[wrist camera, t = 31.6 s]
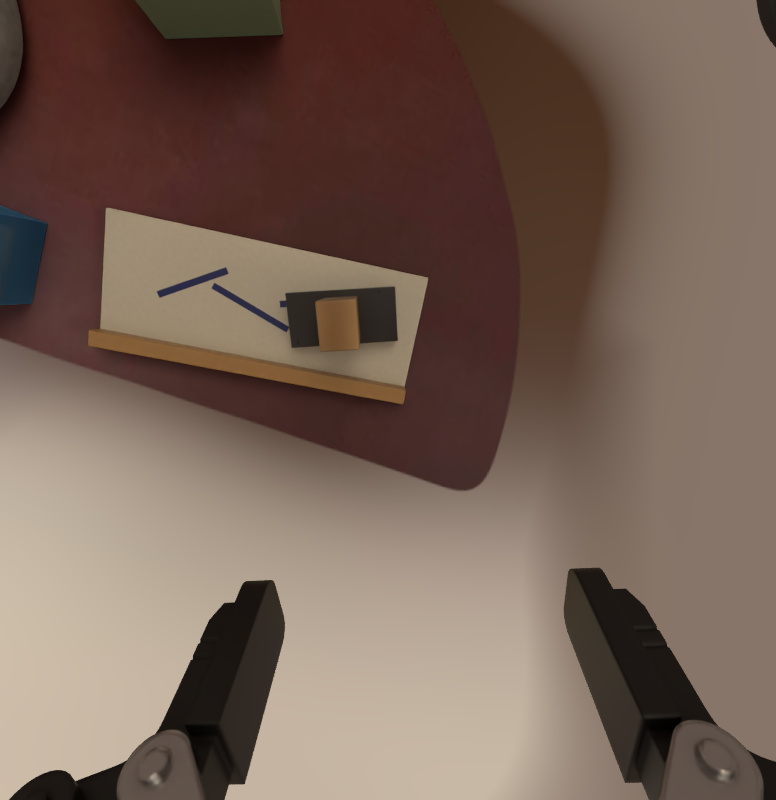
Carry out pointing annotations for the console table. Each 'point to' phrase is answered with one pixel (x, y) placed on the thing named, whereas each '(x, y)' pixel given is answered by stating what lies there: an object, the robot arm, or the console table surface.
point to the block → (214, 17)
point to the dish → (9, 47)
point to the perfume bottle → (19, 256)
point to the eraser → (342, 318)
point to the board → (241, 306)
